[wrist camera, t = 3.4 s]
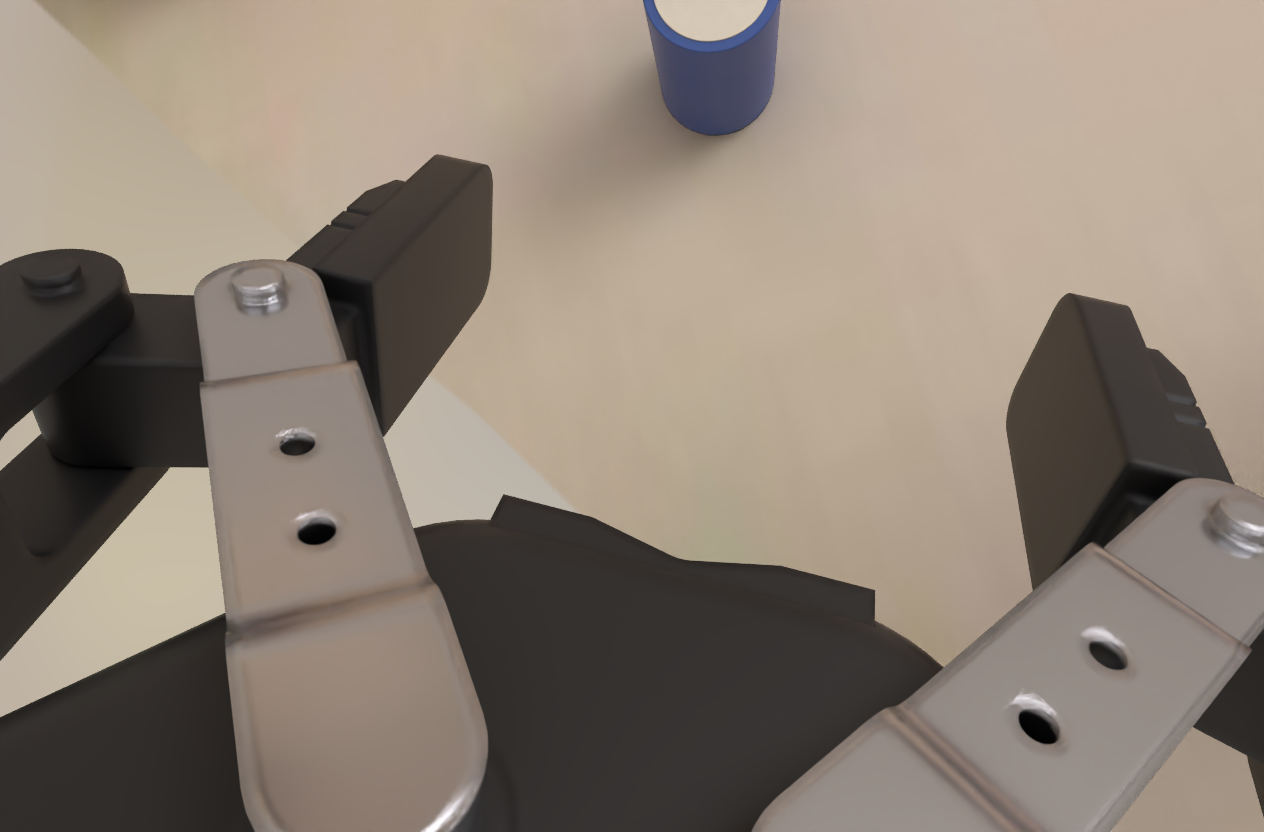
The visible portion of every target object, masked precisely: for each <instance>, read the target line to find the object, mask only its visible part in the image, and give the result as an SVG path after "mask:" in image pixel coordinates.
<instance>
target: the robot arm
mask: <svg viewBox="0 0 1264 832" xmlns="http://www.w3.org/2000/svg"><path fill="white" fill-rule="evenodd" d="M492 197H493V180H492V173H491V170H490V168H489V166H488V165H485V164H480V163H475V162H471V161H466V160H462V159H457V158H452V157H448V156H443V155H438V154H437V155H435V156H433V157H432V158H431V159H430V160H429V161H428V162H427V163H426V164H424V165H423V166H422V167H421V168H420V169H419V170H418V171H417V172H416V173H415V174H414V175H412V176H411V177H410V178H409V179H408V180H407V181H406V182H404V181H400V180H394V181H392V182H389V183H387V184H384V185H381V186H379V187H376V188H373V189H371V190H368V191H366V192H365V193H363V194H362V195H361V196H360V197H359V198H358V199H356V200H355V201H354V202H353V203H352V204H351V205H350V206H348V207H347V211H346V212H345V211H343V212H341V213H340V214H339V215H338V216H337V217H336V218H335V219H333V220H332V221H331V225H326V226H325V227H324V228H323V229H322V230H321V231H320V232H318V233H317V234H316V235H315V236H314V237H313V238H311V239H310V240H309V241H308V242H307V243H306V244H304V245H303V246H302V247H301V248H300V249H299V250H298V251H296V252H295V253H294V254H293V255H292V256H291V257H290V258H288V259H287V260H286V261H283V260H272V259H260V260H249V261H242V262H238V263H233V264H230V265H227V266H224V267H222V268H219V269H217V270H215V271H213V272H212V273H210V274H208V275H207V276H205V277H204V278H203V279H202V280H201V281H200V282H199V283H198V285H197V286H196V289H195V291H194V295H193V296H191V295H190V296H189V295H163V294H137V293H130V291H129V288H128V284H127V281H126V277H125V274H124V270H123V268H122V266H121V264H120V263H119V262H118V261H117V260H115V259H114V258H112V257H110V256H108V255H106V254H103V253H99V252H96V251H90V250H83V249H57V250H48V251H42V252H36V253H32V254H28V255H25V256H22V257H19V258H15V259H13V260H11V261H8V262H6V263H4V264H2V265H0V440H1V439H2V437H3V436H4V435H5V433H6V432H7V431H8V430H9V429H10V428H12V427H13V426H14V425H15V424H16V423H17V422H19V421H20V420H21V419H22V418H23V417H24V416H25V415H27V414H28V413H29V412H30V411H31V410H32V411H33V413H34V416H35V418H36V421H37V423H38V426H39V428H40V431H41V433H42V434H41V435H39V436H38V437H37V438H36V439H35V440H34V441H33V442H32V443H31V444H29V445H28V446H27V447H26V448H25V449H24V450H23V451H22V452H21V453H20V454H18V455H17V456H16V457H15V458H14V459H13V460H12V461H11V462H10V463H8V464H7V465H6V466H5V467H4V468H3V469H2V470H1V471H0V660H1V659H2V658H3V657H4V656H5V655H6V654H7V653H8V652H9V650H10V649H11V648H12V647H13V646H14V644H16V642H17V641H18V640H19V639H20V638H21V637H22V636H23V634H24V633H25V632H26V631H27V630H28V629H29V628H30V626H31V625H32V624H33V623H34V622H35V621H36V620H37V619H38V617H39V616H40V615H41V614H42V613H43V612H44V611H45V610H46V608H47V607H48V606H49V605H50V604H51V603H52V602H53V600H54V599H55V598H56V597H57V596H58V595H59V594H60V592H61V591H62V590H63V589H64V588H65V587H66V586H67V584H68V583H69V582H70V581H71V580H72V579H73V578H74V577H75V575H76V574H77V573H78V572H79V571H80V570H81V569H82V567H83V566H84V565H85V564H86V563H87V562H88V561H89V560H90V558H91V557H92V556H93V555H94V554H95V553H96V552H97V550H98V549H99V548H100V547H101V546H102V545H103V544H104V542H105V541H106V540H107V539H108V538H109V537H110V536H111V534H112V533H113V532H114V531H115V530H116V529H117V528H118V526H119V525H120V524H121V523H122V522H123V521H124V520H125V519H126V517H127V516H128V515H129V514H130V513H131V512H132V511H133V509H134V508H135V507H136V506H137V505H138V503H140V501H141V500H142V499H143V498H144V497H145V496H146V495H147V494H148V492H149V491H150V490H151V489H152V488H153V487H154V486H155V484H156V483H157V482H158V481H159V480H160V479H161V478H162V476H163V475H164V474H165V473H166V472H167V471H168V469H169V468H170V467H209V474H210V482H211V492H212V499H213V509H214V516H215V526H216V534H217V543H218V551H219V561H220V569H221V578H222V586H223V594H224V603H225V612H226V613H224V614H222V615H219V616H217V617H215V618H213V619H211V620H209V621H207V622H204V623H202V624H200V625H198V626H196V627H194V628H191V629H189V630H187V631H185V632H183V633H181V634H179V635H176V636H174V637H173V638H170V639H168V640H166V641H163V642H162V643H159V644H157V645H155V646H153V647H151V648H149V649H146V650H144V651H142V652H140V653H138V654H136V655H133V656H131V657H129V658H127V659H125V660H123V661H121V662H118V663H116V664H114V665H112V666H110V667H107V668H106V669H103V670H101V671H99V672H97V673H95V674H92V675H90V676H88V677H86V678H84V679H82V680H80V681H77V682H75V683H73V684H71V685H69V686H67V687H65V688H62V689H60V690H58V691H56V692H54V693H52V694H49V695H47V696H45V697H43V698H41V699H39V700H37V701H35V702H33V703H30V704H28V705H26V706H24V707H21V708H19V709H17V710H15V711H13V712H11V713H9V714H6V715H4V716H2V717H0V832H1110V831H1111V830H1112V829H1113V827H1114V826H1115V825H1116V824H1117V822H1118V821H1119V820H1120V818H1121V817H1122V816H1123V815H1124V813H1125V812H1126V811H1127V810H1128V808H1129V807H1130V806H1131V804H1132V803H1133V802H1134V801H1135V799H1136V798H1137V797H1138V796H1139V794H1140V793H1141V792H1142V791H1143V789H1144V788H1145V787H1146V785H1147V784H1148V783H1149V782H1150V780H1151V779H1152V778H1153V777H1154V775H1155V774H1156V773H1157V771H1158V770H1159V769H1160V768H1161V766H1162V765H1163V764H1164V763H1165V761H1166V760H1167V759H1168V757H1169V756H1170V755H1171V754H1172V752H1173V751H1174V750H1175V749H1176V747H1177V746H1178V745H1179V743H1180V742H1181V741H1182V740H1183V738H1184V737H1185V736H1186V735H1187V733H1188V732H1189V731H1190V729H1191V728H1192V727H1194V728H1196V729H1198V730H1199V731H1201V732H1203V733H1205V734H1207V735H1209V736H1211V737H1213V738H1215V739H1217V740H1219V741H1221V742H1222V743H1224V744H1226V745H1228V746H1230V747H1232V748H1234V749H1236V750H1238V751H1240V752H1242V753H1243V754H1245V755H1247V757H1248V763H1249V767H1250V770H1251V774H1252V777H1253V781H1254V784H1255V788H1256V792H1257V795H1258V799H1259V802H1260V806H1261V809H1262V813H1263V816H1264V498H1262V497H1260V496H1259V495H1257V494H1255V493H1253V492H1251V491H1248V490H1246V489H1244V488H1242V487H1239V486H1236V485H1234V482H1233V480H1232V478H1231V476H1230V474H1229V471H1228V469H1227V467H1226V465H1225V463H1224V460H1223V458H1222V456H1221V454H1220V452H1219V450H1218V447H1217V445H1216V443H1215V441H1214V439H1213V436H1212V434H1211V432H1210V430H1209V429H1208V428H1205V425H1206V421H1205V419H1204V417H1203V415H1202V412H1201V410H1200V408H1199V407H1196V403H1197V401H1196V399H1195V397H1194V395H1193V393H1192V390H1191V388H1190V386H1189V384H1188V382H1187V380H1186V377H1185V376H1184V375H1183V374H1182V373H1181V372H1180V371H1179V370H1178V369H1177V368H1176V367H1175V366H1174V365H1173V364H1172V363H1171V362H1170V361H1169V360H1168V359H1167V358H1166V357H1165V356H1164V355H1163V354H1162V353H1161V352H1160V351H1159V350H1155V349H1150V348H1147V347H1146V345H1145V343H1144V340H1143V338H1142V335H1141V333H1140V331H1139V328H1138V326H1137V323H1136V321H1135V319H1134V316H1133V314H1132V311H1131V309H1130V308H1129V307H1128V306H1126V305H1122V304H1118V303H1113V302H1108V301H1104V300H1099V299H1095V298H1090V297H1085V296H1081V295H1076V294H1072V293H1068V294H1066V295H1064V296H1063V297H1062V298H1061V300H1060V301H1059V302H1058V304H1057V305H1056V307H1055V309H1054V310H1053V312H1052V314H1051V316H1050V318H1049V320H1048V322H1047V324H1046V326H1045V328H1044V330H1043V332H1042V334H1041V336H1040V338H1039V340H1038V342H1037V344H1036V346H1035V348H1034V350H1033V352H1032V354H1031V356H1030V358H1029V360H1028V362H1027V364H1026V366H1025V368H1024V370H1023V372H1022V374H1021V376H1020V378H1019V380H1018V382H1017V384H1016V386H1015V388H1014V391H1013V393H1012V396H1011V399H1010V403H1009V407H1008V412H1007V420H1006V430H1007V437H1008V443H1009V449H1010V455H1011V461H1012V467H1013V473H1014V479H1015V485H1016V491H1017V497H1018V504H1019V510H1020V516H1021V522H1022V528H1023V534H1024V540H1025V546H1026V552H1027V558H1028V564H1029V570H1030V576H1031V583H1032V589H1033V592H1031V593H1030V594H1029V595H1028V596H1027V597H1026V598H1024V599H1023V600H1022V601H1021V602H1020V603H1019V604H1017V605H1016V606H1015V607H1014V608H1013V609H1012V610H1010V611H1009V612H1008V613H1007V614H1006V615H1005V616H1003V617H1002V618H1001V619H1000V620H999V621H998V622H997V623H995V624H994V625H993V626H992V627H991V628H990V629H988V630H987V631H986V632H985V633H984V634H983V635H981V636H980V637H979V638H978V639H977V640H976V641H974V642H973V643H972V644H971V645H970V646H969V647H967V648H966V649H965V650H964V651H963V652H962V653H960V654H959V655H958V656H957V657H956V658H955V659H953V660H952V661H951V662H950V663H949V664H948V665H946V666H945V667H944V668H943V667H942V666H941V665H940V664H939V663H938V662H936V661H935V660H934V659H933V658H932V657H931V656H930V655H928V654H927V653H926V652H925V651H923V650H922V649H921V648H919V647H918V646H916V645H915V644H914V643H912V642H911V641H910V640H908V639H907V638H905V637H903V636H902V635H900V634H898V633H897V632H895V631H893V630H892V629H890V628H888V627H887V626H885V625H883V624H881V623H879V622H877V621H875V590H872V589H868V588H864V587H861V586H857V585H853V584H849V583H845V582H841V581H837V580H833V579H830V578H826V577H822V576H818V575H814V574H810V573H806V572H802V571H799V570H795V569H791V568H787V567H783V566H774V565H757V564H739V563H722V562H705V561H689V560H683V559H679V558H676V557H673V556H671V555H669V554H667V553H665V552H663V551H661V550H658V549H656V548H654V547H652V546H650V545H648V544H646V543H644V542H642V541H640V540H638V539H636V538H634V537H632V536H630V535H628V534H625V533H623V532H621V531H619V530H617V529H615V528H613V527H611V526H609V525H607V524H605V523H603V522H601V521H599V520H597V519H595V518H593V517H589V516H585V515H582V514H578V513H574V512H570V511H566V510H562V509H558V508H555V507H550V506H547V505H542V504H539V503H535V502H531V501H527V500H523V499H519V498H516V497H512V496H508V495H503V496H502V498H501V500H500V502H499V504H498V506H497V508H496V510H495V512H494V514H493V516H492V518H491V520H478V519H477V520H456V521H449V522H441V523H434V524H430V525H426V526H422V527H418V528H413V527H412V524H411V521H410V518H409V515H408V512H407V509H406V506H405V503H404V500H403V497H402V494H401V491H400V488H399V485H398V482H397V479H396V476H395V473H394V470H393V467H392V463H391V460H390V457H389V454H388V451H387V448H386V445H385V442H384V440H383V437H384V436H385V434H386V433H387V432H388V430H389V429H390V428H391V426H392V425H393V423H394V422H395V421H396V419H397V418H398V416H399V415H400V414H401V412H402V411H403V410H404V408H405V407H406V405H407V404H408V403H409V401H410V400H411V399H412V397H413V396H414V394H415V393H416V392H417V390H418V389H419V388H420V386H421V385H422V383H423V382H424V380H425V379H426V378H427V377H428V375H429V374H430V372H431V371H432V370H433V368H434V367H435V365H436V364H437V363H438V361H439V360H440V359H441V357H442V356H443V354H444V353H445V352H446V350H447V349H448V348H449V346H450V345H451V343H452V342H453V341H454V339H455V338H456V337H457V335H458V334H459V332H460V331H461V330H462V328H463V327H464V325H465V324H466V323H467V321H468V320H469V319H470V317H471V316H472V314H473V313H474V312H475V310H476V309H477V308H478V306H479V305H480V303H481V301H482V299H483V297H484V295H485V292H486V289H487V285H488V281H489V277H490V270H491V246H492Z"/></svg>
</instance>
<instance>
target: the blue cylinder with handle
mask: <svg viewBox="0 0 1264 832" xmlns="http://www.w3.org/2000/svg"><path fill="white" fill-rule="evenodd" d="M643 2H644V7H645V12H646V17H647V22H648V27H649V32H650V36H651V41H652V46H653V51H654V56H655V61H656V66H657V71H658V76H659V80H660V85H661V90H662V95H663V98H664V101H665V104H666V106H667V108H668V110H669V111H670V113H671V114H672V115H673V117H674V118H675V119H676V120H677V121H678V122H679V123H681V124H682V125H683V126H685V127H686V128H688V129H690V130H692V131H695V132H698V133H701V134H706V135H723V134H729V133H732V132H735V131H738V130H740V129H742V128H744V127H745V126H747V125H749V124H750V123H751V122H753V121H754V120H755V119H756V118H757V117H758V116H759V115H760V114H761V113H762V111H763V110H764V109H765V107H766V105H767V103H768V102H769V99H770V97H771V94H772V90H773V84H774V74H775V62H776V50H777V38H778V26H779V14H780V2H781V0H643Z"/></svg>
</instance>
